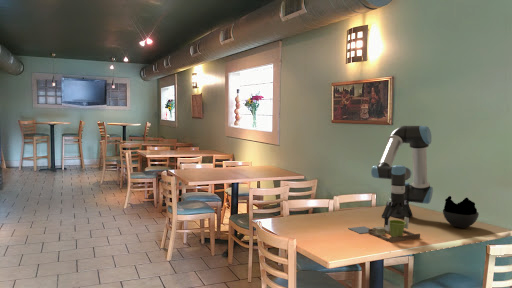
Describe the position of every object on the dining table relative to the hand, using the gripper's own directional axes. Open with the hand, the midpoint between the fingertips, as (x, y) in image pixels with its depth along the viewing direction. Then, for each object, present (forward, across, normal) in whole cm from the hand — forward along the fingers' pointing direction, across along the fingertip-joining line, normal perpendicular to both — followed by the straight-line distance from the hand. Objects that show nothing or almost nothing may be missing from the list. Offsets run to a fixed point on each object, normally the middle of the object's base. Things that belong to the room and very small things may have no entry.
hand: (396, 229), depth 232 cm
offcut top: (+2, 0, +9) cm, 9 cm away
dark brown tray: (+4, 0, +3) cm, 5 cm away
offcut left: (+4, -6, +9) cm, 11 cm away
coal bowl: (+4, +52, +3) cm, 52 cm away
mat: (+4, -10, +19) cm, 21 cm away
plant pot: (+4, 0, 0) cm, 5 cm away
